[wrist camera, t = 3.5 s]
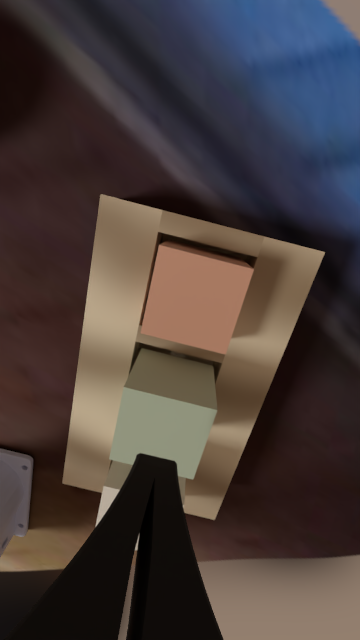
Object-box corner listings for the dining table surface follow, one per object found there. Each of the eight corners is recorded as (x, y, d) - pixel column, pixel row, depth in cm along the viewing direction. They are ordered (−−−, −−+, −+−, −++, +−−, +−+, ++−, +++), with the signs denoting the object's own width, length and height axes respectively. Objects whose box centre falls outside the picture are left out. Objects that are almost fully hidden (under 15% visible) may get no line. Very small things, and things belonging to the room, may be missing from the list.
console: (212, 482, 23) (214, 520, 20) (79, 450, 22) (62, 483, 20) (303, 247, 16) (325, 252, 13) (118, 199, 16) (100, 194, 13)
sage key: (194, 423, 17) (193, 479, 14) (128, 407, 17) (109, 459, 14) (213, 365, 16) (217, 410, 12) (141, 347, 16) (123, 387, 12)
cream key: (172, 492, 19) (166, 557, 16) (113, 477, 19) (92, 539, 16) (187, 445, 18) (184, 505, 14) (123, 430, 18) (103, 485, 14)
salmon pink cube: (219, 325, 17) (225, 354, 13) (153, 308, 17) (140, 333, 13) (241, 258, 16) (254, 269, 12) (168, 239, 16) (158, 244, 12)
